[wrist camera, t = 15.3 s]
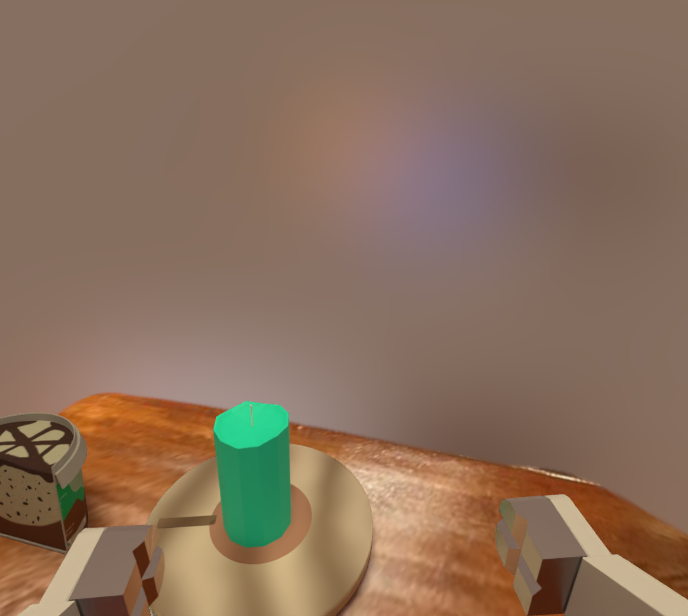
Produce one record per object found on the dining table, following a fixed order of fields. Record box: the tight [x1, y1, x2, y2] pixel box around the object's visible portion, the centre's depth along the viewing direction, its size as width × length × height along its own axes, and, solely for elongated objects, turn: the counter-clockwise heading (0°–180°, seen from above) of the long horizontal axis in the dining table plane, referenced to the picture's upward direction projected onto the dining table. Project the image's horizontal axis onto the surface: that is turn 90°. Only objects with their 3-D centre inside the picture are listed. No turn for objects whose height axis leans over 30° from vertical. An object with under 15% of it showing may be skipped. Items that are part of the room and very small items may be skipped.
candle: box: [213, 401, 291, 548], centre depth 35 cm, size 6×6×12 cm
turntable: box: [146, 444, 373, 616], centre depth 38 cm, size 20×20×2 cm
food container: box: [0, 413, 88, 555], centre depth 38 cm, size 12×6×10 cm, turn 76°
